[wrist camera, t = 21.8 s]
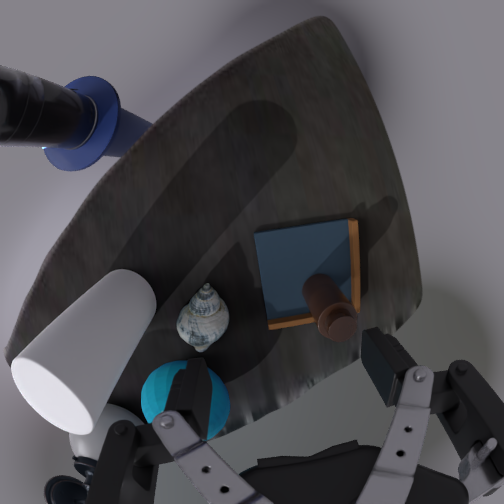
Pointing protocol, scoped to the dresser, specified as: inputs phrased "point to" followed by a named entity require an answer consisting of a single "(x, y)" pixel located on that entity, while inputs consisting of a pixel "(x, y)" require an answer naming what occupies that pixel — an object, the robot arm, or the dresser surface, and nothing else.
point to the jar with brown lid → (329, 308)
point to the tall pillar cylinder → (85, 351)
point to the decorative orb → (160, 386)
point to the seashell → (203, 319)
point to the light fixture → (85, 458)
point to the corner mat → (306, 266)
